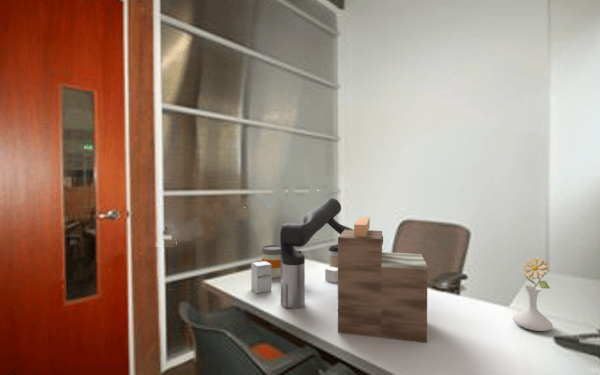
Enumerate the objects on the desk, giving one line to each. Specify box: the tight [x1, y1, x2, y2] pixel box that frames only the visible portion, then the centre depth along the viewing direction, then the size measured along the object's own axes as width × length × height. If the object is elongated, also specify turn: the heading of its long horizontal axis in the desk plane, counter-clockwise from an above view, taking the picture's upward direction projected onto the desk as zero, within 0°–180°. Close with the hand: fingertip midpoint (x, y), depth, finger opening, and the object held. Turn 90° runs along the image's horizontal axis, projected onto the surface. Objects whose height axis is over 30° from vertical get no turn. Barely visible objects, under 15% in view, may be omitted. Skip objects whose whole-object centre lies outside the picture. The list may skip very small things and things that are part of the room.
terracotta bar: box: [353, 216, 371, 237], centre depth 124 cm, size 24×4×4 cm, turn 166°
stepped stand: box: [337, 229, 428, 344], centre depth 117 cm, size 18×28×32 cm, turn 76°
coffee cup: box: [328, 244, 338, 268], centre depth 185 cm, size 9×9×15 cm
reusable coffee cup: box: [261, 244, 281, 279], centre depth 180 cm, size 13×13×15 cm
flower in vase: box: [512, 256, 554, 332], centre depth 115 cm, size 13×11×25 cm
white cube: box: [324, 266, 338, 284], centre depth 171 cm, size 6×6×6 cm
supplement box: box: [250, 261, 272, 294], centre depth 155 cm, size 7×7×13 cm
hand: (365, 234), depth 143 cm, fingers open, 8 cm apart
